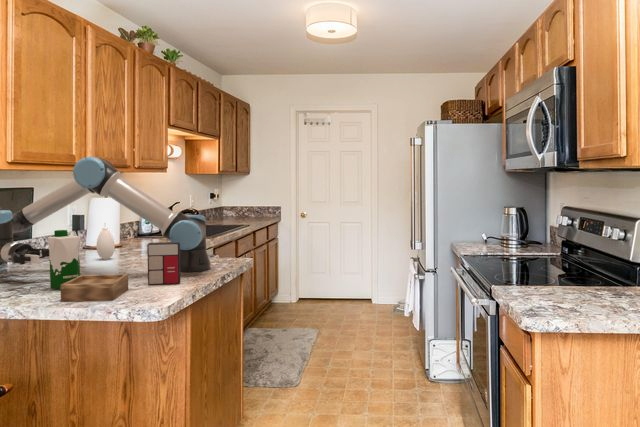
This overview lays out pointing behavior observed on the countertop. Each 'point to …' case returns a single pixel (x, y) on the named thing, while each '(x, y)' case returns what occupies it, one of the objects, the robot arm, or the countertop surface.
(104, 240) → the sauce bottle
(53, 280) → the soya milk
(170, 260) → the beige and red box
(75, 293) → the wooden tray
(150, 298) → the countertop surface
